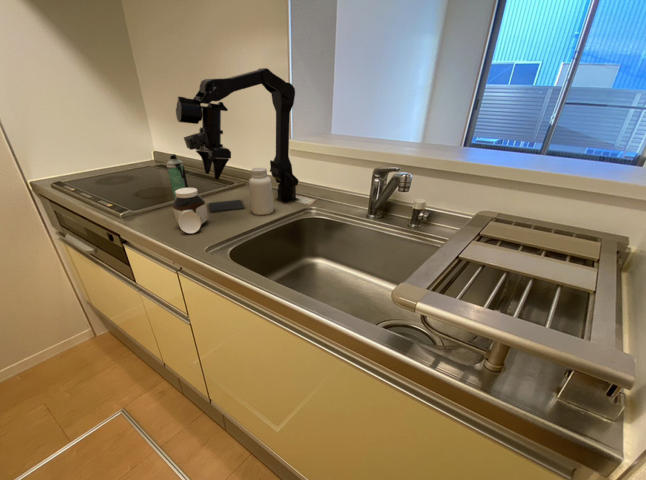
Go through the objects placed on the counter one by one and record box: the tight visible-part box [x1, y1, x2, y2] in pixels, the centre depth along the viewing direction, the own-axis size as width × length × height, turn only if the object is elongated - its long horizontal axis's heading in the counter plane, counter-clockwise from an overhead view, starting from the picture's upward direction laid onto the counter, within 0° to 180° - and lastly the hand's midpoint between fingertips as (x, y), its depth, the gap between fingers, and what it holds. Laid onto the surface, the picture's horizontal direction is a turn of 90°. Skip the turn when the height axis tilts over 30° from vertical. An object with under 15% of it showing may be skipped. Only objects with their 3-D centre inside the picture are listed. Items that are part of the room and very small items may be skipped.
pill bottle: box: [248, 167, 274, 216], centre depth 121 cm, size 8×8×15 cm
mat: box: [208, 199, 245, 213], centre depth 130 cm, size 12×10×1 cm
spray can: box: [166, 153, 189, 201], centre depth 120 cm, size 6×6×20 cm
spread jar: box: [172, 187, 208, 234], centre depth 110 cm, size 12×11×12 cm
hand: (211, 176), depth 116 cm, fingers open, 9 cm apart
